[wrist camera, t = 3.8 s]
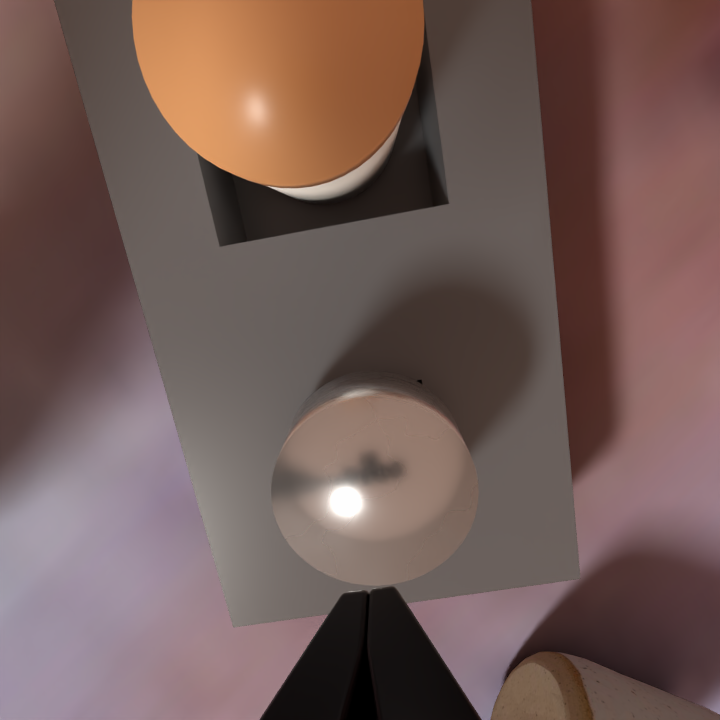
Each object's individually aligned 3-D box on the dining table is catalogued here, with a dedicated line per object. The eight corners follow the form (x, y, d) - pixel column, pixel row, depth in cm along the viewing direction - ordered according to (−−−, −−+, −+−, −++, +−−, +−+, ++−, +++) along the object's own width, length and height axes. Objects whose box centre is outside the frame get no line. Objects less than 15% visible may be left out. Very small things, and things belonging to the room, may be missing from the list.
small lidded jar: (264, 218, 18) (175, 206, 10) (228, 57, 16) (93, -110, 8) (408, 191, 17) (443, 155, 9) (384, 25, 16) (398, -182, 8)
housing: (257, 556, 22) (233, 627, 18) (103, -34, 16) (20, -117, 12) (540, 514, 21) (580, 578, 17) (475, -117, 16) (511, -233, 12)
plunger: (319, 477, 20) (294, 598, 13) (291, 351, 19) (249, 416, 12) (449, 457, 20) (490, 570, 13) (430, 328, 18) (464, 381, 12)
